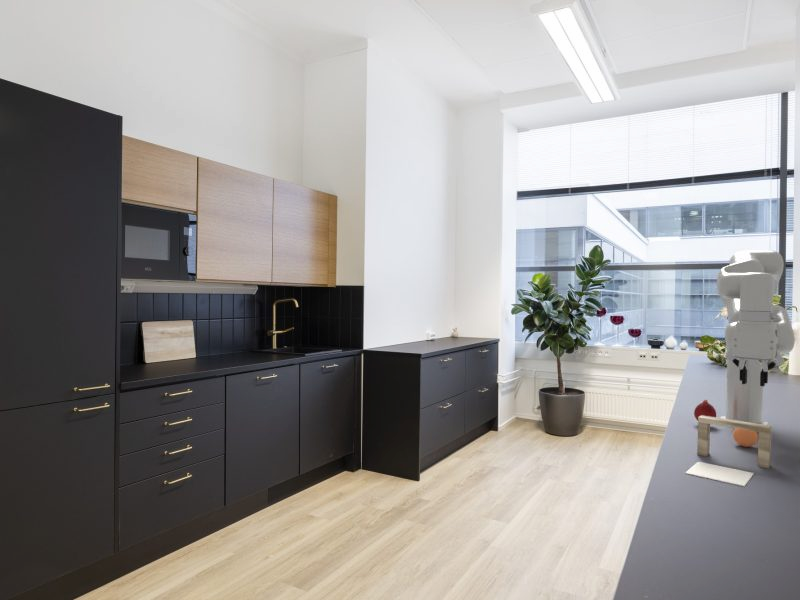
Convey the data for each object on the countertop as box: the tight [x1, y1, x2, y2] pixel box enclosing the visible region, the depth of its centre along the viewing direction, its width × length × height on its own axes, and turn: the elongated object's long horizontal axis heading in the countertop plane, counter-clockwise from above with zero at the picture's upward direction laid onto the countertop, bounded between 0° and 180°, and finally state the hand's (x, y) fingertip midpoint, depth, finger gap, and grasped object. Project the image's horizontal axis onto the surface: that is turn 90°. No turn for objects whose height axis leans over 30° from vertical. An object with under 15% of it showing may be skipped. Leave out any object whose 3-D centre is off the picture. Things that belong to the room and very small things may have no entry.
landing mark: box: [684, 461, 755, 488], centre depth 116 cm, size 11×11×1 cm
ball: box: [732, 428, 759, 448], centre depth 139 cm, size 6×6×6 cm
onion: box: [693, 399, 717, 422], centre depth 160 cm, size 6×6×8 cm
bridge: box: [696, 415, 773, 469], centre depth 127 cm, size 3×14×9 cm, turn 48°
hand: (753, 384), depth 146 cm, fingers open, 3 cm apart
